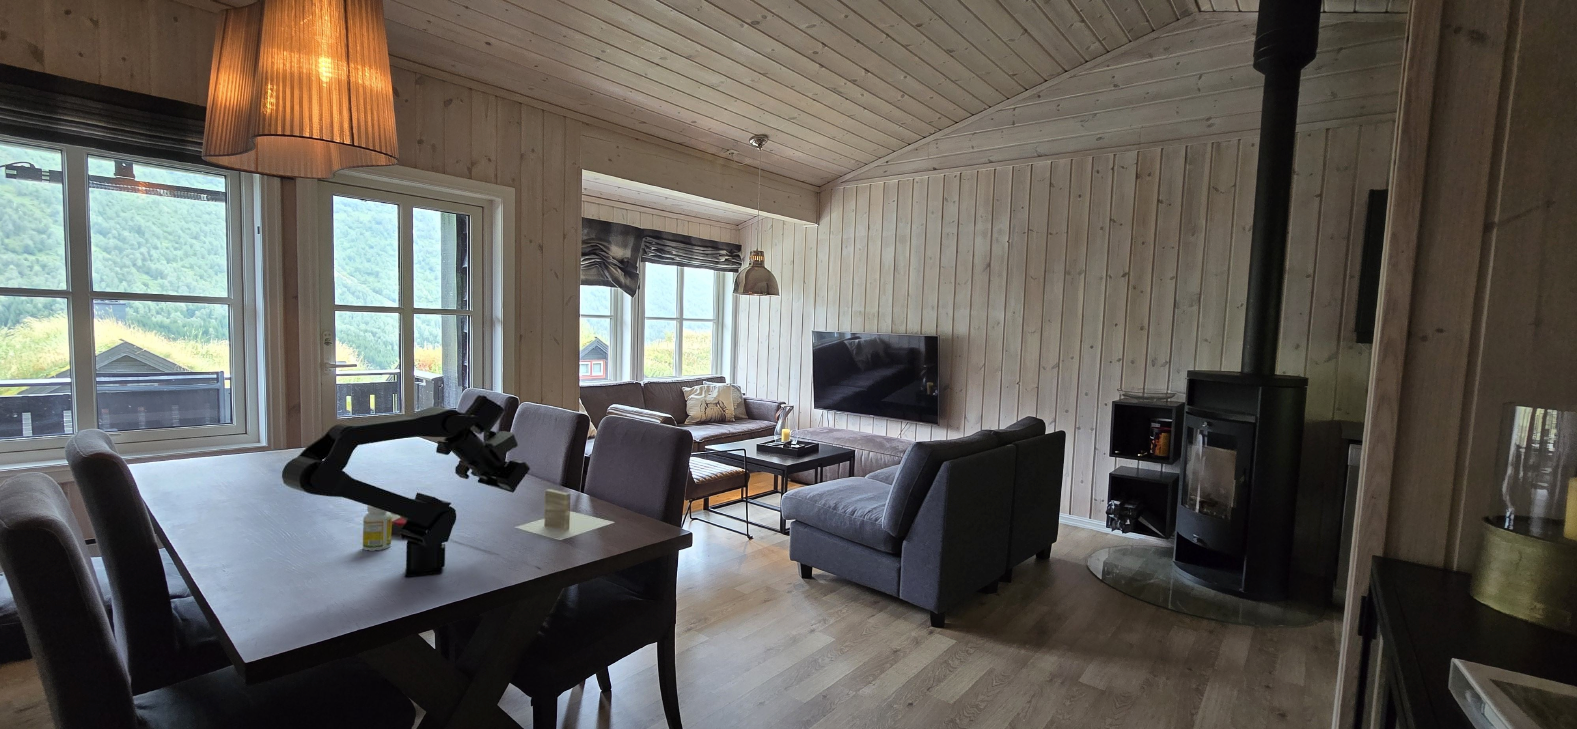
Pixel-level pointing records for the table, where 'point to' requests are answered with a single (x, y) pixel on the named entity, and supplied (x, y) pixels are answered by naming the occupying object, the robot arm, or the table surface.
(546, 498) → the tile
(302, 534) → the table surface
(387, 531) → the supplement bottle
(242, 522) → the table surface
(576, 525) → the mat
